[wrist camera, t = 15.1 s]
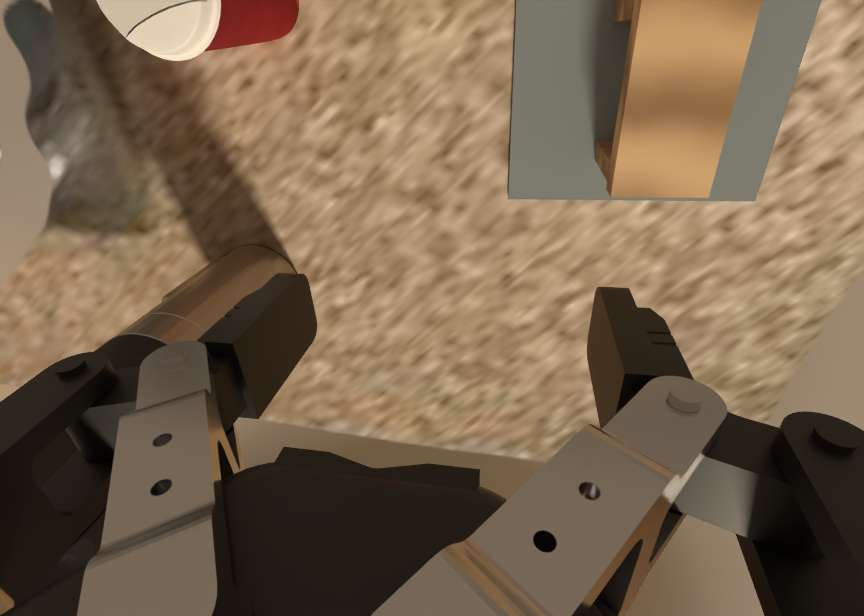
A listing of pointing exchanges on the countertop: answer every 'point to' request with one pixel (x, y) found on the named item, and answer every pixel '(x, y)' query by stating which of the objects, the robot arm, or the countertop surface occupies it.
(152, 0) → the paper cup
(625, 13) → the tan wooden block
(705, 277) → the countertop surface
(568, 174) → the mat
